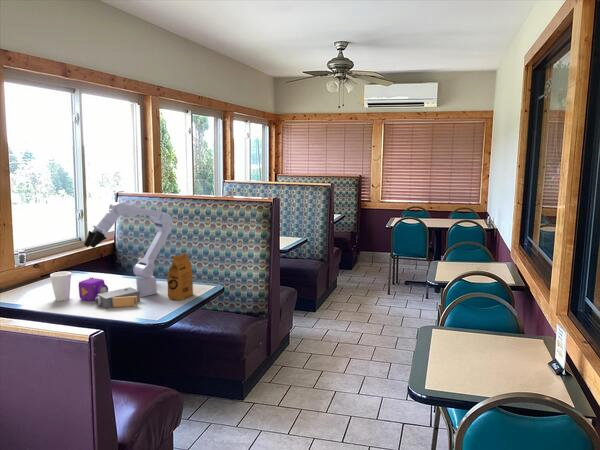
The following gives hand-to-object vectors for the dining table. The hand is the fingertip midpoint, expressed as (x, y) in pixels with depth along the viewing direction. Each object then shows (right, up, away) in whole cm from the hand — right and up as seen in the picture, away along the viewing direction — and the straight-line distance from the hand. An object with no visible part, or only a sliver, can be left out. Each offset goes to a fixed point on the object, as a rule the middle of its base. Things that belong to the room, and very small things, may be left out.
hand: (88, 246), depth 238 cm
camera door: (+15, -29, +5) cm, 33 cm away
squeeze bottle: (+12, -23, +46) cm, 53 cm away
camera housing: (+10, -28, +11) cm, 32 cm away
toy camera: (-4, -27, +18) cm, 33 cm away
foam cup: (-20, -27, +18) cm, 39 cm away
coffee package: (+38, -27, +20) cm, 51 cm away
